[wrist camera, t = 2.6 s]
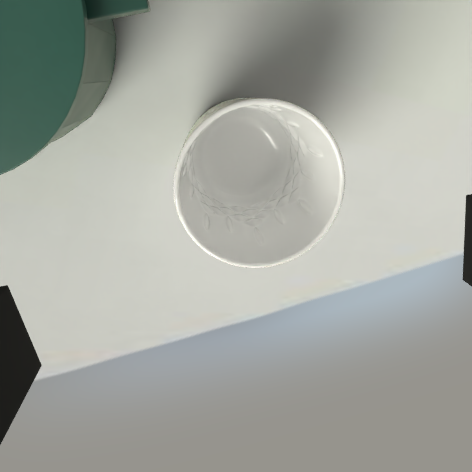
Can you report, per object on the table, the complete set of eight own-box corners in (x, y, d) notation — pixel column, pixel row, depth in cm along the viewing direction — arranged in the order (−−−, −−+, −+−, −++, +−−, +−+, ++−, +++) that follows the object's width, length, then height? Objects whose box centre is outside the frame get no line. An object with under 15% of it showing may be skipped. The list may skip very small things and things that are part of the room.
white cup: (255, 226, 30) (284, 293, 21) (158, 172, 28) (141, 220, 19) (317, 131, 28) (379, 158, 19) (217, 65, 26) (232, 59, 17)
